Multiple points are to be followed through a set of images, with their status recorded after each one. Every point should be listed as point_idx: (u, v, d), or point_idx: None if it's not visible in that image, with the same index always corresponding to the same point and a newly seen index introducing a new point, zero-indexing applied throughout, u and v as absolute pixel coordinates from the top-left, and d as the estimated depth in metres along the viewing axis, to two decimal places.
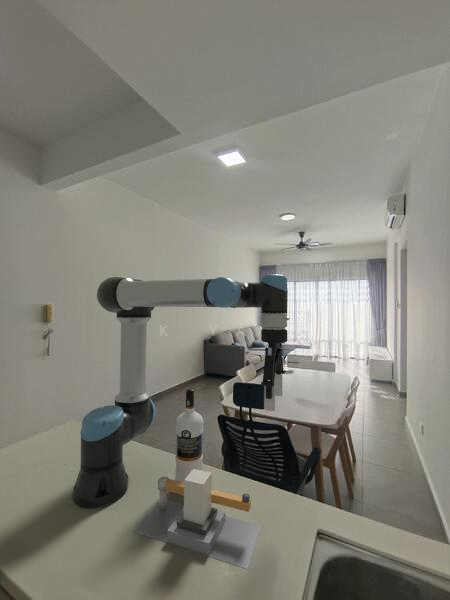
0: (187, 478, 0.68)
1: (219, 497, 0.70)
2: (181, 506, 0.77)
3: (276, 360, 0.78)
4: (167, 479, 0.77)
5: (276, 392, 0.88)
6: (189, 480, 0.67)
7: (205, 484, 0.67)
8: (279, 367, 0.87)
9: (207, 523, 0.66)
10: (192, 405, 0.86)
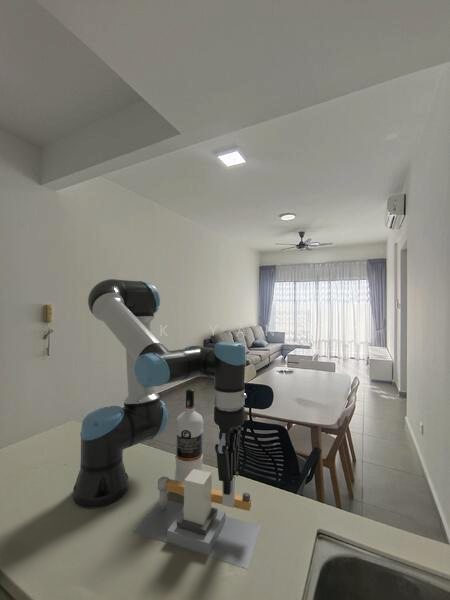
0: (187, 478, 0.68)
1: (219, 496, 0.70)
2: (181, 506, 0.77)
3: (231, 450, 0.67)
4: (167, 479, 0.77)
5: None
6: (189, 480, 0.67)
7: (205, 484, 0.67)
8: (232, 461, 0.69)
9: (207, 523, 0.66)
10: (192, 405, 0.86)
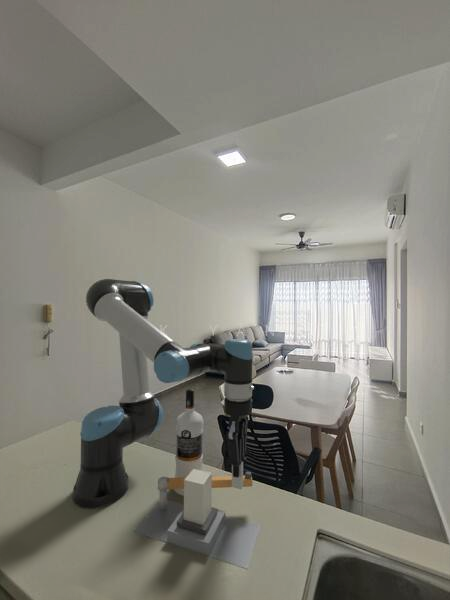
0: (187, 478, 0.68)
1: (224, 481, 0.77)
2: (181, 506, 0.77)
3: (240, 437, 0.74)
4: (166, 478, 0.77)
5: None
6: (189, 480, 0.67)
7: (205, 484, 0.67)
8: (240, 447, 0.76)
9: (207, 523, 0.66)
10: (192, 405, 0.86)
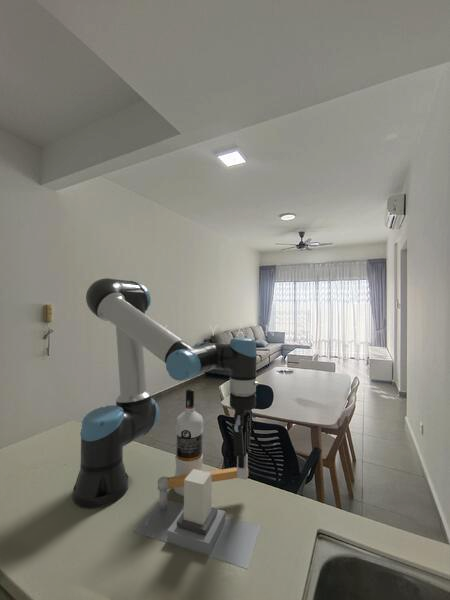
0: (187, 478, 0.68)
1: (223, 474, 0.80)
2: (181, 506, 0.77)
3: (245, 430, 0.78)
4: (166, 477, 0.77)
5: None
6: (189, 480, 0.67)
7: (205, 484, 0.67)
8: (245, 440, 0.81)
9: (207, 523, 0.66)
10: (192, 405, 0.86)
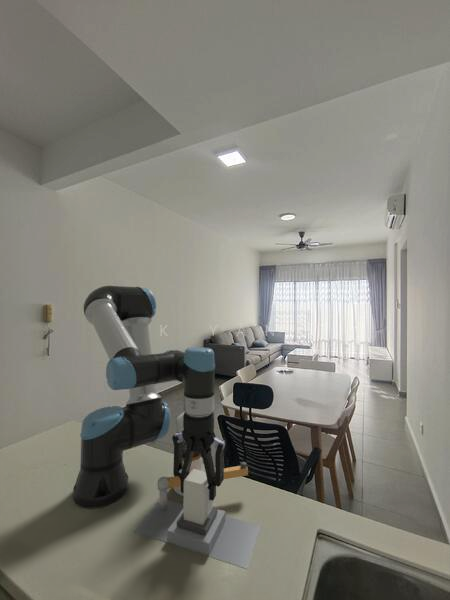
0: (187, 478, 0.68)
1: None
2: (181, 506, 0.77)
3: None
4: (166, 477, 0.77)
5: None
6: (189, 480, 0.67)
7: (205, 484, 0.67)
8: None
9: (207, 523, 0.66)
10: None
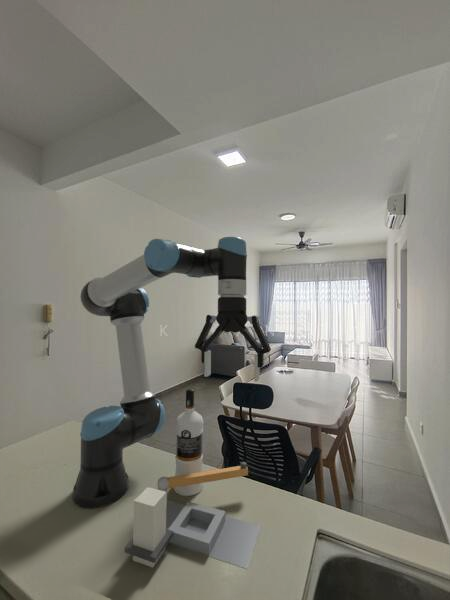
0: (138, 499, 0.61)
1: (223, 473, 0.80)
2: (181, 506, 0.77)
3: (216, 329, 0.75)
4: (166, 477, 0.77)
5: None
6: (139, 502, 0.60)
7: (157, 505, 0.60)
8: None
9: (158, 549, 0.59)
10: (192, 405, 0.86)
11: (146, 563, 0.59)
